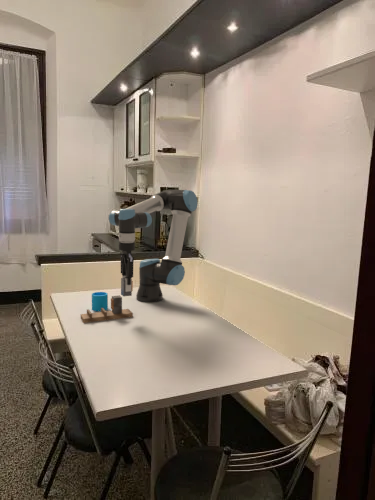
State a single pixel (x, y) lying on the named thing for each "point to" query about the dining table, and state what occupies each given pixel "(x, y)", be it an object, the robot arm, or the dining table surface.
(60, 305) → the dining table surface
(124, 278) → the dark grey upright block
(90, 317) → the rail
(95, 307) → the mug
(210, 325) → the dining table surface
